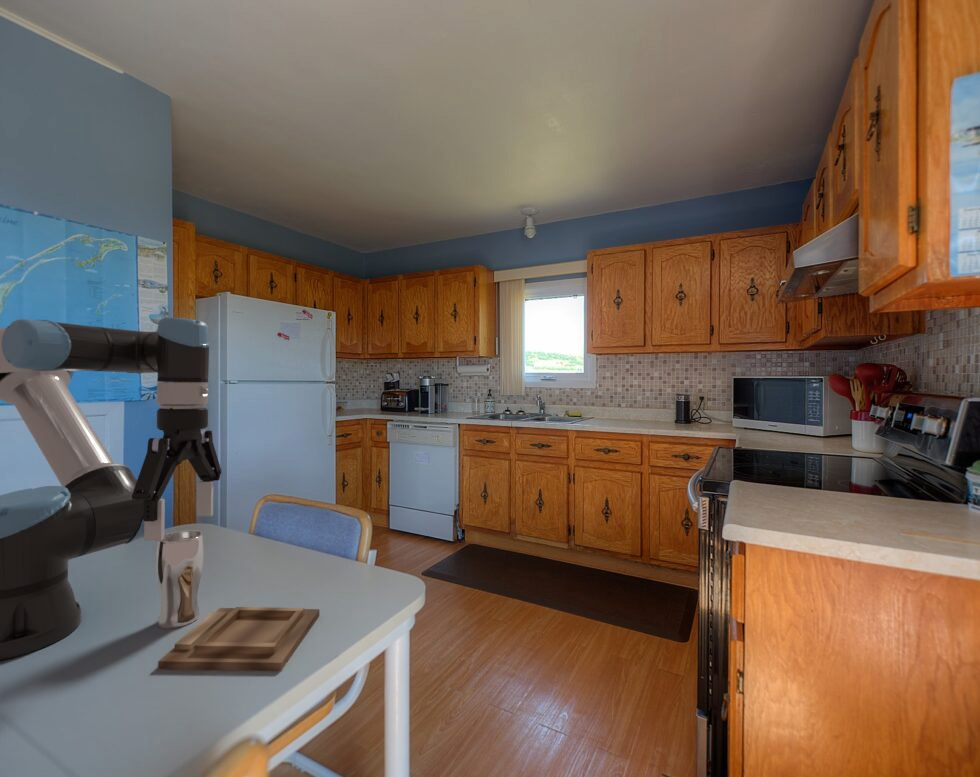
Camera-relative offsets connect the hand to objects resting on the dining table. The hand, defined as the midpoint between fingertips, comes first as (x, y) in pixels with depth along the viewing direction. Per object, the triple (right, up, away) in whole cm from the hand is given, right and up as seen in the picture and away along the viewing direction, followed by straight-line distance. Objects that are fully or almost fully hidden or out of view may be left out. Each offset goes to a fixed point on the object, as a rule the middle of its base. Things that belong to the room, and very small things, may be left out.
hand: (181, 526), depth 81 cm
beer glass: (-1, -17, 0) cm, 17 cm away
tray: (+15, -17, -5) cm, 23 cm away
